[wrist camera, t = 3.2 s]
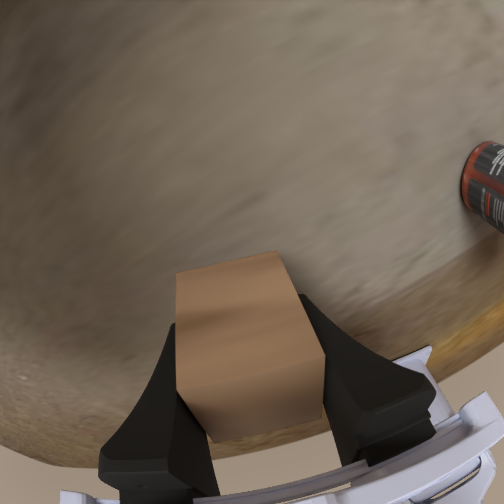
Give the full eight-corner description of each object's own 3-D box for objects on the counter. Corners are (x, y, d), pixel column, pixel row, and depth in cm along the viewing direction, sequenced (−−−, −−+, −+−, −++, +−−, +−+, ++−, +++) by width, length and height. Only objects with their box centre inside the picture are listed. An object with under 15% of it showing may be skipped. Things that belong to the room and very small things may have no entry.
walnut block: (285, 320, 16) (321, 417, 11) (202, 339, 16) (214, 442, 11) (276, 249, 14) (325, 355, 9) (176, 273, 13) (176, 389, 8)
